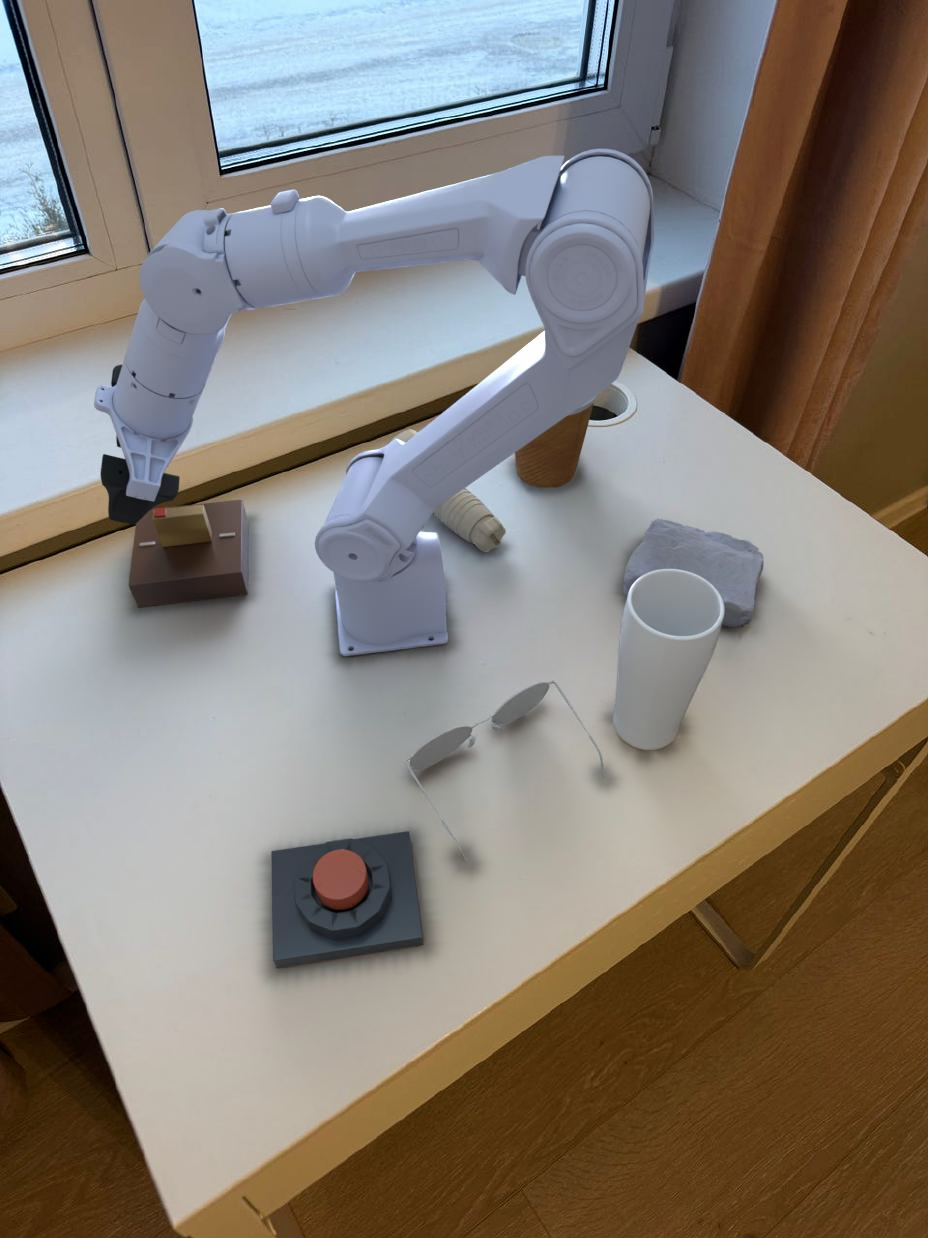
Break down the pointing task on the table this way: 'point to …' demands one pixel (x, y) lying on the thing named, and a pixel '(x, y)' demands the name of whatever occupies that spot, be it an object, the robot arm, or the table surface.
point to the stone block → (702, 564)
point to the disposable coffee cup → (555, 451)
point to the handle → (466, 514)
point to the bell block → (356, 931)
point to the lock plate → (192, 560)
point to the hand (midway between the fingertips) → (126, 481)
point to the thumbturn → (182, 525)
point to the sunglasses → (458, 735)
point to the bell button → (340, 879)
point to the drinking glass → (663, 653)
